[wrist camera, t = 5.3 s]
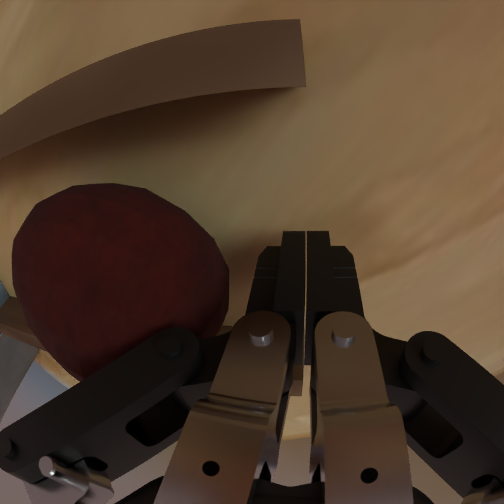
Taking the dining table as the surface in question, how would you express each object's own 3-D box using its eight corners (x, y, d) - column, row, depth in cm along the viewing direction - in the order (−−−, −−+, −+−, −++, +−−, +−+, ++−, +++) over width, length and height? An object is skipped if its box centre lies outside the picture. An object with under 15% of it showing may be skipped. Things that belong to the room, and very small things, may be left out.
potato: (70, 137, 10) (-63, 223, 4) (265, 184, 10) (219, 360, 4) (80, 267, 14) (10, 364, 8) (223, 318, 14) (187, 449, 9)
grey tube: (33, 336, 21) (-13, 415, 13) (43, 357, 24) (5, 429, 15) (4, 316, 21) (-42, 388, 12) (15, 339, 23) (-23, 404, 15)
